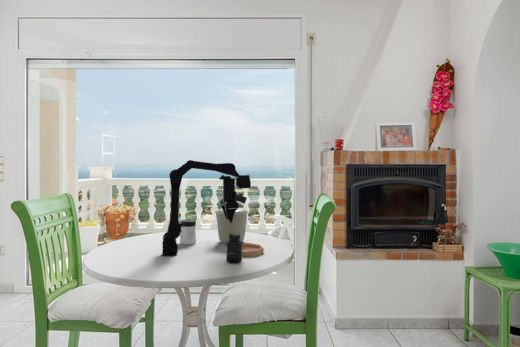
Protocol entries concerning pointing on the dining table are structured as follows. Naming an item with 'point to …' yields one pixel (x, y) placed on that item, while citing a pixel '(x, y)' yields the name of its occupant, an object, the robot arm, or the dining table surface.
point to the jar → (188, 232)
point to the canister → (231, 224)
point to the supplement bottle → (234, 249)
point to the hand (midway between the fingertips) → (229, 220)
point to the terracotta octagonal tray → (251, 249)
